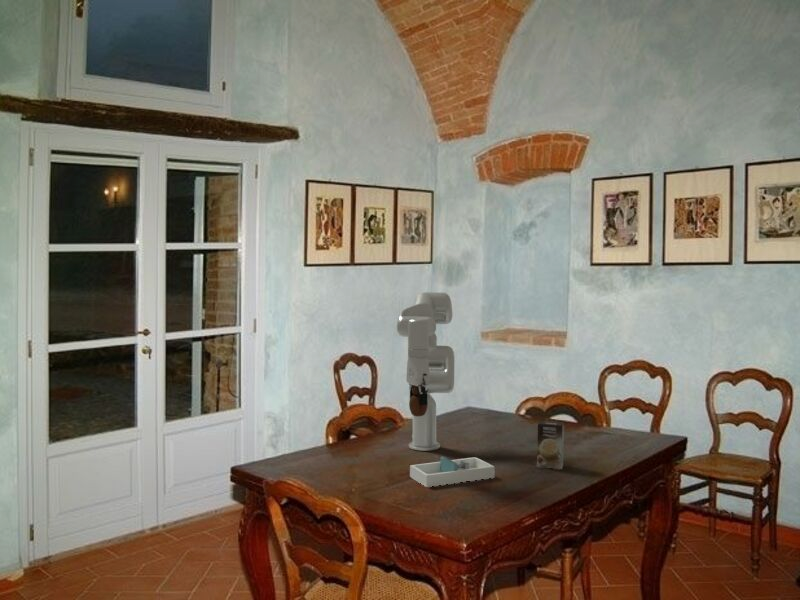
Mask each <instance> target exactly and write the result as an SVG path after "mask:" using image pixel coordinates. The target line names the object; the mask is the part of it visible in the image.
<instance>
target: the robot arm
mask: <svg viewBox="0 0 800 600" xmlns="http://www.w3.org/2000/svg"><path fill="white" fill-rule="evenodd" d="M452 320H453V305H452V300H451V298H450V296H449V294H448V293H447V292H432V291H431V292H428V291H427V292H421V293H418V295H417V296H415V299H414V303H413V305H411V306H409V307H406V308H405V309H402V310H401V312H399V315H398V317H397V322H396V331H397V333H398V335H399V336H401V337H406V338H407V365H406V382H407V383H408V385H409V387H408V389H409V399H410V398H411V397H412V396H413V395H414V394H413V393H412V387H413V385H414V386H419V392H420V394H419V405H427V401H428V406H427V410H426V413H425V414H424V415H423V416H413V415H412V434H411V437H412V441H411V442H409V443H408V448H409V449H411V450H415V451H421V452H422V451H424V452H425V451H427V452H428V451H429V452H430V451H436V450H438V449H440V447H441V444H440V443H439V442H437V403H436V400H435V399H434V397H433V396H432V395H431V394H449V393H451V392H453V391H454V387H455V361H456V360H455V352H454V349H453V348H452V347H451V346H450V345H437V341H438V339H437V338H438V337H437V335H436V331H437V325H447V324H451V322H452ZM421 384H422V385H421ZM422 387H423V389H422Z"/></svg>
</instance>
